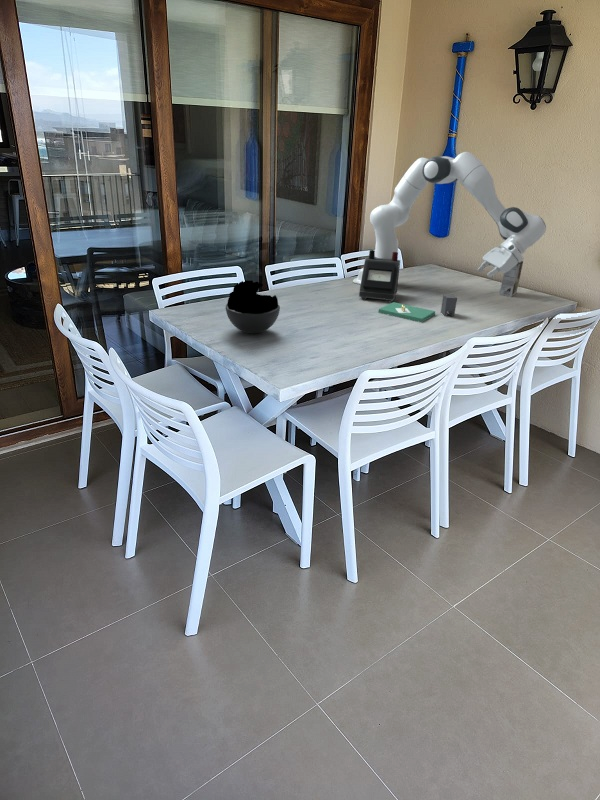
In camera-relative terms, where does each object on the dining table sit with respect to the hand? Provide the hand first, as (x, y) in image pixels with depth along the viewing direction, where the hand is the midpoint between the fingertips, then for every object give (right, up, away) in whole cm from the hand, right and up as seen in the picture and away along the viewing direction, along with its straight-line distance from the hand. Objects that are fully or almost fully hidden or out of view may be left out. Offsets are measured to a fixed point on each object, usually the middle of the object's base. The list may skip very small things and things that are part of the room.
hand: (483, 273), depth 227 cm
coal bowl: (-95, -28, -22) cm, 101 cm away
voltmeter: (-40, -5, +28) cm, 49 cm away
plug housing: (-13, -16, +7) cm, 22 cm away
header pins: (-33, -15, +4) cm, 36 cm away
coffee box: (+26, -1, +42) cm, 49 cm away
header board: (-31, -16, +6) cm, 35 cm away
